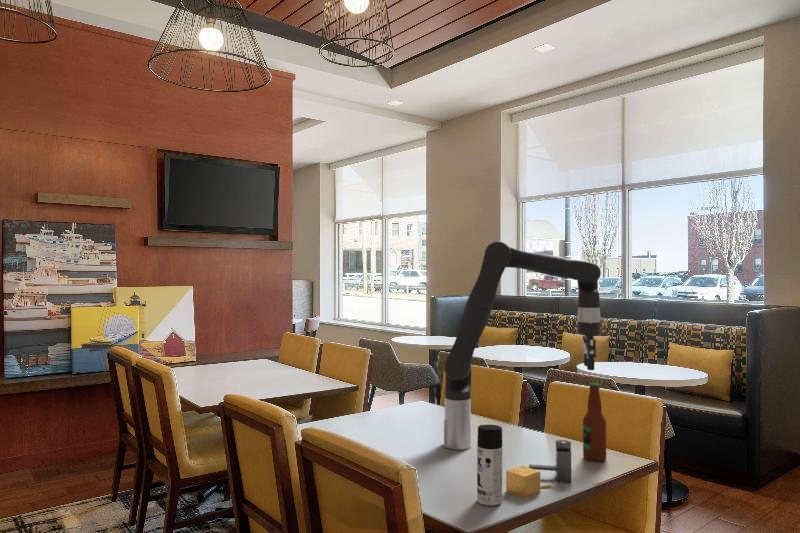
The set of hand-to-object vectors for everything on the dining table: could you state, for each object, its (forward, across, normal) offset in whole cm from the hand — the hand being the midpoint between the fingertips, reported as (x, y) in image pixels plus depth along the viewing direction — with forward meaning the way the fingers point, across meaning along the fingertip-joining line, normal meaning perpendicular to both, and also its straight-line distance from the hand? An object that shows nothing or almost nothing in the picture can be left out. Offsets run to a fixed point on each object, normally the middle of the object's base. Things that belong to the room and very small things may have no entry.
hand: (589, 368), depth 198 cm
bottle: (+30, +5, +1) cm, 30 cm away
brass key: (+29, +35, -17) cm, 49 cm away
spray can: (+30, +49, -32) cm, 66 cm away
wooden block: (+29, +40, -23) cm, 55 cm away
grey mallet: (+29, +27, -15) cm, 43 cm away
